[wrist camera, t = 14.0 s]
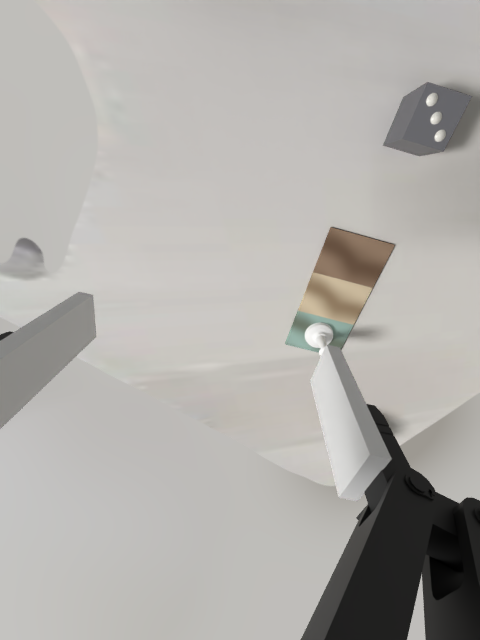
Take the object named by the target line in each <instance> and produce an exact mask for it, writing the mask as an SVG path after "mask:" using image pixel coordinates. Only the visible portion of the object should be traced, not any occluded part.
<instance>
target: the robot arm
mask: <svg viewBox="0 0 480 640" xmlns="http://www.w3.org/2000/svg"><path fill="white" fill-rule="evenodd" d="M95 337H96V326H95V314H94V301H93V295H91V294H87V293H82V292H78V293H76V294H75V295H73V296H71V297H70V298H68V299H67V300H65V301H63V302H62V303H60V304H59V305H57V306H55V307H54V308H52V309H51V310H49V311H47V312H46V313H44V314H43V315H41V316H39V317H38V318H36V319H35V320H33V321H31V322H30V323H28V324H26V325H25V326H23V327H22V328H20V329H19V330H17V331H15V332H6V333H4V334H1V335H0V429H1V428H2V427H3V426H4V425H5V424H6V423H7V422H8V421H9V420H10V419H11V418H12V417H13V416H14V415H15V414H16V413H17V412H19V411H20V410H21V408H23V407H24V406H25V405H26V404H27V403H28V402H29V401H30V400H31V399H32V398H33V397H34V396H35V395H36V394H37V393H38V392H39V391H40V390H41V389H42V388H43V387H44V386H46V385H47V384H48V383H49V382H50V381H51V380H52V379H53V378H54V377H55V376H56V375H57V374H58V373H59V372H60V371H61V370H62V369H63V368H64V367H65V366H66V365H67V364H68V363H69V362H70V361H72V359H73V358H75V357H76V356H77V355H78V354H79V353H80V352H81V351H82V350H83V349H84V348H85V347H86V346H87V345H88V344H89V343H90V342H91V341H92V340H93V339H94V338H95ZM310 382H311V386H312V390H313V394H314V398H315V403H316V407H317V411H318V415H319V419H320V423H321V427H322V431H323V435H324V439H325V443H326V447H327V451H328V456H329V460H330V464H331V468H332V472H333V476H334V480H335V484H336V488H337V492H338V496H339V498H343V499H349V500H354V501H358V500H359V499H360V498H361V497H362V495H363V494H364V493H365V495H366V498H367V501H368V505H367V506H366V507H365V508H364V510H363V511H362V512H361V513H360V514H359V515H358V517H357V519H358V520H359V521H358V523H357V525H356V527H355V529H354V531H353V533H352V535H351V537H350V539H349V542H348V544H347V546H346V548H345V550H344V552H343V554H342V556H341V558H340V560H339V562H338V564H337V566H336V568H335V570H334V572H333V574H332V576H331V579H330V581H329V583H328V585H327V587H326V589H325V591H324V593H323V595H322V597H321V599H320V602H319V604H318V606H317V607H316V610H315V612H314V614H313V616H312V618H311V620H310V622H309V624H308V626H307V628H306V631H305V632H304V634H303V636H302V638H301V640H407V636H408V632H409V627H410V623H411V618H412V614H413V610H414V605H415V601H416V596H417V591H418V587H419V582H420V578H421V574H422V581H423V597H424V598H423V599H424V617H425V634H426V640H480V501H479V500H477V499H475V498H466V499H464V500H463V501H462V502H461V503H460V504H459V503H457V502H455V501H453V500H451V499H449V498H447V497H445V496H443V495H441V494H439V493H437V492H435V490H434V488H433V486H432V485H431V484H430V482H429V481H428V480H427V479H426V478H425V477H424V476H423V475H422V474H420V473H419V472H417V471H415V470H414V469H412V468H410V465H409V463H408V462H407V460H406V458H405V456H404V454H403V452H402V450H401V448H400V446H399V444H398V442H397V440H396V438H395V436H393V433H392V431H391V429H390V428H389V425H388V423H387V421H386V419H385V417H384V415H383V414H382V413H381V412H380V411H379V410H378V409H377V408H376V407H375V406H374V405H369V404H366V403H365V401H364V398H363V396H362V394H361V392H360V390H359V388H358V386H357V383H356V381H355V379H354V377H353V375H352V373H351V371H350V369H349V366H348V364H347V362H346V360H345V358H344V356H343V354H342V351H341V349H340V347H336V346H331V345H326V347H325V349H324V351H323V353H322V356H321V358H320V360H319V362H318V365H317V367H316V369H315V371H314V374H313V376H312V378H311V380H310Z"/></svg>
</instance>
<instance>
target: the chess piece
mask: <svg viewBox="0 0 480 640" xmlns="http://www.w3.org/2000/svg"><path fill="white" fill-rule="evenodd" d="M332 339H333V330H332V328H331V327H330V326H329V325H328V324H326V323H321V322H319V323H314V324H312V325H310V326H309V327H308V328H307V329H306V331H305V340H306V342H307V343H308V344H309V345H310V346H312V347H315V348H321V349H320V350H319V355H320V356H322V353H323V351H324V349H325V347H326V345H328V344H329V343H330V342H331V341H332Z"/></svg>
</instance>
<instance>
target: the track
mask: <svg viewBox="0 0 480 640" xmlns="http://www.w3.org/2000/svg"><path fill="white" fill-rule="evenodd" d="M394 246H395V245H393V244H390V243H386V242H382V241H379V240H375V239H372V238H368V237H364V236H361V235H357V234H354V233H350V232H346V231H343V230H339V229H336V228H332V227H331V228H330V230H329V233H328V235H327V238H326V240H325V243H324V246H323V248H322V251H321V253H320V256H319V258H318V261H317V263H316V266H315V269H314V271H313V274H312V276H311V279H310V281H309V284H308V286H307V289H306V292H305V294H304V297H303V299H302V302H301V304H300V307H299V309H298V312H297V314H296V317H295V320H294V322H293V325H292V327H291V330H290V332H289V335H288V337H287V340H286V343H285V344H286V345H290V346H294V347H299V348H303V349H307V350H311V351H315V352H319V350H320V349H321V348H315V347H312V346H310V345H309V344H308V343H307V342H306V340H305V331H306V329H307V328H308V327H309V326H310V325H312V324H314V323H319V322H321V323H326V324H328V325H329V326H330V327H331V328H332V330H333V339H332V341H331V342H330V343H329V344H328V345H331V346H336V347H340V349H341V348H342V346H343V345H344V343H345V341H346V339H347V337H348V335H349V333H350V331H351V329H352V327H353V325H354V323H355V321H356V319H357V317H358V316H359V314H360V312H361V310H362V308H363V306H364V304H365V302H366V300H367V298H368V296H369V294H370V292H371V290H372V288H373V287H374V285H375V283H376V281H377V279H378V277H379V275H380V273H381V271H382V269H383V267H384V265H385V263H386V261H387V259H388V258H389V256H390V254H391V252H392V250H393V248H394Z"/></svg>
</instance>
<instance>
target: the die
mask: <svg viewBox="0 0 480 640" xmlns="http://www.w3.org/2000/svg"><path fill="white" fill-rule="evenodd" d="M471 97H472V96H470V95H467V94H464V93H460V92H457V91H454V90H451V89H448V88H445V87H442V86H438V85H435V84H432V83H429V82H427V83H425V84H424V85H422V86H421V87H419V88H417V89H416V90H414V91H413V92H411V93H409V94H408V95H406V96H404V97H403V100H402V102H401V104H400V107H399V109H398V111H397V114H396V116H395V118H394V121H393V123H392V126H391V128H390V130H389V133H388V135H387V137H386V140H385V142H384V146H387V147H390V148H394V149H397V150H400V151H404V152H407V153H410V154H414V155H417V156H422V155H428V154H433V153H438V152H443V151H444V149H445V148H446V146H447V144H448V142H449V140H450V138H451V136H452V134H453V132H454V130H455V128H456V126H457V124H458V122H459V120H460V119H461V117H462V115H463V113H464V111H465V109H466V107H467V105H468V103H469V101H470V99H471Z"/></svg>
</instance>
